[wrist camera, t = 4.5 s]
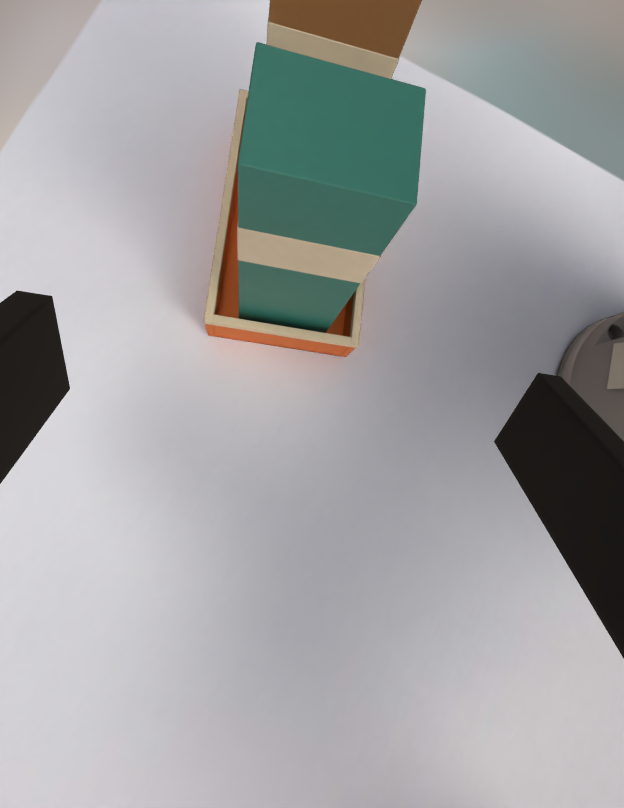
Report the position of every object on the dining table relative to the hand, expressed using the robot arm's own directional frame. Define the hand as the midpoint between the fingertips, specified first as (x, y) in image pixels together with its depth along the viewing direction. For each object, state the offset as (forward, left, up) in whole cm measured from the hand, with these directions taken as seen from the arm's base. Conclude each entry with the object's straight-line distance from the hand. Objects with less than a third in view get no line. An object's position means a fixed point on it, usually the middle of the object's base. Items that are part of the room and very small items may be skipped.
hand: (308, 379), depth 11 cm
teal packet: (0, -9, -17) cm, 19 cm away
